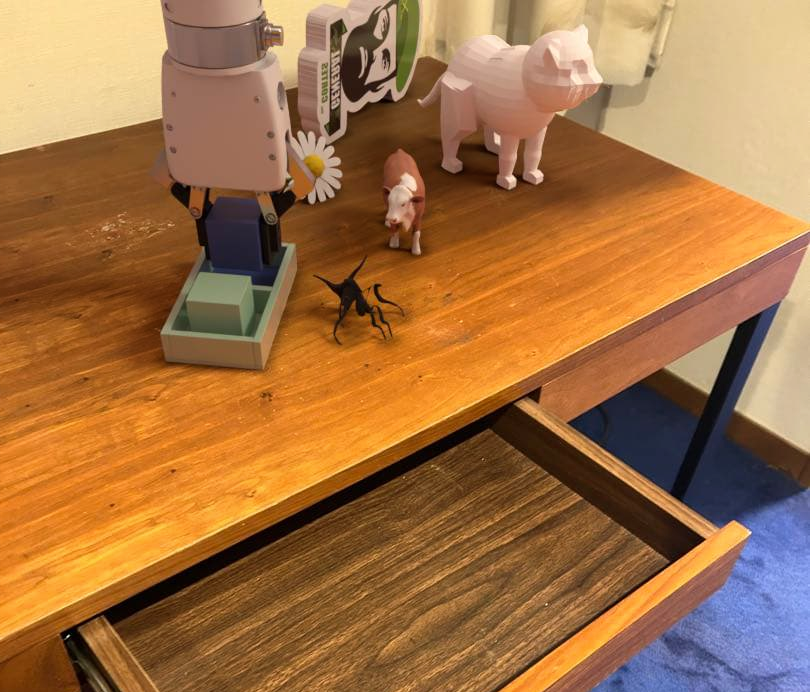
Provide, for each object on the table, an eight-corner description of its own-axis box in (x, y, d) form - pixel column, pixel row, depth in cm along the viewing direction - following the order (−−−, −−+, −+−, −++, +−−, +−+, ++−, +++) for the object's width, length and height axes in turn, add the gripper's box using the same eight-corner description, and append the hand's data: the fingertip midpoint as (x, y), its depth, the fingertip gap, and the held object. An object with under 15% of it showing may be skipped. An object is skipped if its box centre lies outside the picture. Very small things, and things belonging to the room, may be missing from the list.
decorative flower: (200, 121, 91) (341, 124, 92) (210, 144, 97) (342, 147, 98) (201, 196, 91) (341, 199, 92) (211, 214, 98) (343, 216, 98)
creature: (418, 337, 80) (367, 284, 83) (430, 293, 76) (375, 239, 78) (352, 368, 77) (300, 312, 79) (360, 324, 72) (305, 266, 75)
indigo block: (211, 267, 78) (204, 220, 75) (223, 242, 81) (217, 195, 78) (261, 271, 78) (256, 224, 75) (271, 246, 81) (267, 199, 78)
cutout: (310, 28, 93) (423, -45, 106) (289, 23, 93) (404, -49, 107) (321, 163, 105) (422, 82, 118) (302, 157, 105) (404, 78, 119)
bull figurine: (379, 274, 85) (380, 195, 79) (382, 209, 94) (384, 133, 88) (423, 275, 85) (427, 196, 79) (422, 210, 94) (426, 135, 88)
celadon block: (193, 346, 75) (185, 300, 72) (206, 316, 78) (199, 271, 75) (244, 350, 75) (239, 304, 72) (255, 321, 78) (251, 275, 75)
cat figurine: (385, 149, 104) (388, -7, 92) (442, 125, 110) (452, -25, 97) (549, 223, 93) (578, 57, 81) (603, 193, 99) (638, 33, 86)
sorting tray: (166, 363, 74) (159, 333, 72) (212, 265, 85) (208, 236, 83) (263, 372, 74) (260, 342, 72) (297, 272, 85) (295, 243, 83)
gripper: (332, 29, 68) (338, 242, 82) (123, 15, 69) (163, 228, 82) (317, 63, 63) (326, 284, 77) (92, 48, 64) (140, 269, 77)
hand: (241, 253), depth 79 cm, fingers closed on indigo block, 4 cm apart
